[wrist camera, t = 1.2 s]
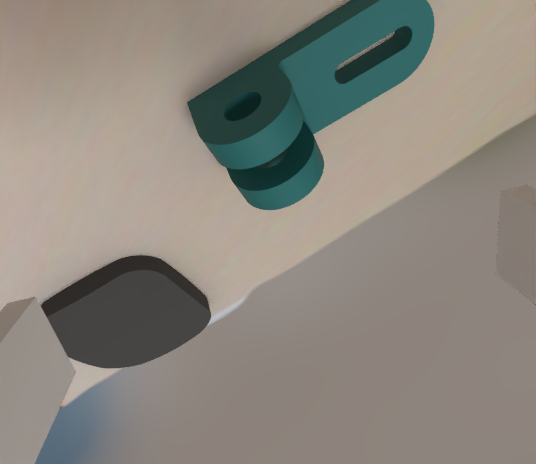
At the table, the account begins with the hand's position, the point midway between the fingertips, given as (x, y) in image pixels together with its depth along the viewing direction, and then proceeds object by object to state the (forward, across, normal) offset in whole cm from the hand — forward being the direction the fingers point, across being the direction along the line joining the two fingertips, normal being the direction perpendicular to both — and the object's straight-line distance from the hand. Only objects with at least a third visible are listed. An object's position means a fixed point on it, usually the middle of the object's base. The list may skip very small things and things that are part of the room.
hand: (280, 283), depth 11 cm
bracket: (+22, +6, +4) cm, 24 cm away
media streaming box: (+28, -16, -16) cm, 36 cm away
